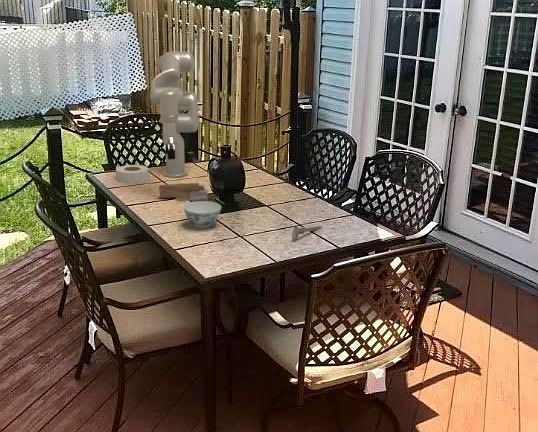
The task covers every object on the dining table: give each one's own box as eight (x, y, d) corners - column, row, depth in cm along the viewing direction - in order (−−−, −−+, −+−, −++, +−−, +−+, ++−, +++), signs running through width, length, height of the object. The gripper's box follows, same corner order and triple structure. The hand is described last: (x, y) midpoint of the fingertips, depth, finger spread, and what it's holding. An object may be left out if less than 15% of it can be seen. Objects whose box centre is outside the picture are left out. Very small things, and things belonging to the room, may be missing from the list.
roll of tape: (116, 175, 323) (115, 165, 322) (147, 174, 327) (147, 164, 325) (116, 184, 309) (115, 173, 307) (149, 183, 312) (148, 172, 311)
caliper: (294, 242, 242) (294, 227, 240) (291, 241, 243) (292, 226, 241) (322, 228, 258) (323, 213, 256) (320, 227, 259) (321, 213, 256)
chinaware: (187, 232, 249) (186, 214, 246) (181, 220, 262) (181, 202, 260) (224, 229, 253) (224, 211, 250) (217, 217, 266) (217, 200, 264)
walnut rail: (159, 195, 291) (159, 184, 289) (198, 193, 295) (198, 182, 293) (160, 198, 287) (160, 187, 285) (200, 196, 291) (199, 185, 289)
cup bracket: (174, 194, 296) (174, 186, 294) (204, 192, 299) (204, 184, 298) (176, 201, 286) (176, 193, 284) (207, 199, 289) (207, 191, 288)
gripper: (158, 115, 287) (160, 151, 293) (162, 123, 271) (163, 161, 277) (175, 114, 288) (176, 151, 295) (180, 122, 273) (181, 161, 279)
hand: (170, 156), depth 286 cm, fingers open, 9 cm apart
